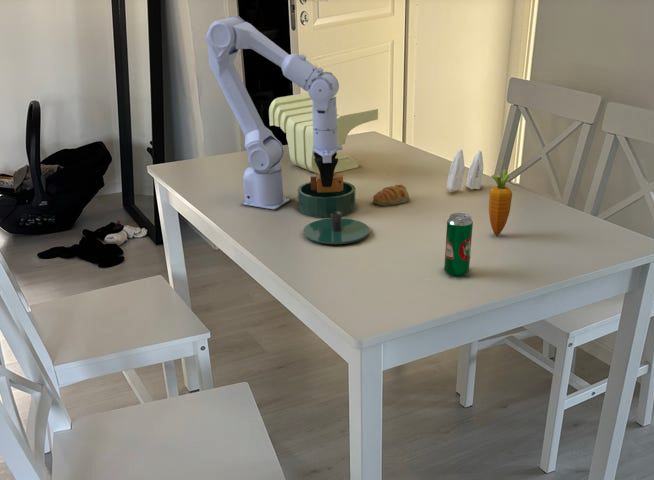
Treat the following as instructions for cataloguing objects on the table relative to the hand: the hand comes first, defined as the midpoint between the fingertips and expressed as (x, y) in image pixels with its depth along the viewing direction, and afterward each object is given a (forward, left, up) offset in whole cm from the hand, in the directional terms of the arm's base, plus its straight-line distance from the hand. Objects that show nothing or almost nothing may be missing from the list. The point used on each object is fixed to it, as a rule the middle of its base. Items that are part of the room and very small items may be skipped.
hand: (326, 183), depth 183 cm
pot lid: (+10, -15, -6) cm, 19 cm away
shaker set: (+27, +27, -6) cm, 39 cm away
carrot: (+44, -1, -6) cm, 44 cm away
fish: (0, 0, -2) cm, 2 cm away
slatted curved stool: (-17, +31, -6) cm, 36 cm away
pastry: (+13, +11, -6) cm, 18 cm away
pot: (0, 0, -6) cm, 6 cm away
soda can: (+42, -24, -6) cm, 49 cm away
